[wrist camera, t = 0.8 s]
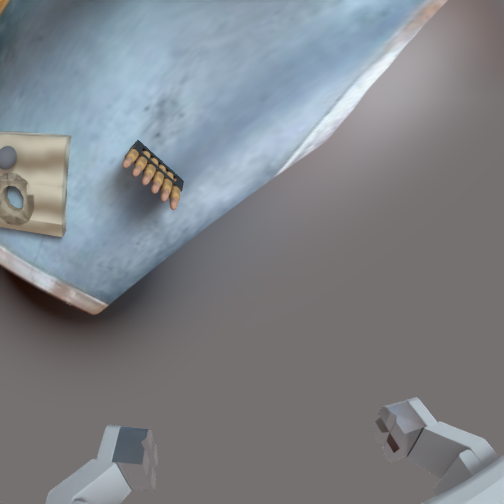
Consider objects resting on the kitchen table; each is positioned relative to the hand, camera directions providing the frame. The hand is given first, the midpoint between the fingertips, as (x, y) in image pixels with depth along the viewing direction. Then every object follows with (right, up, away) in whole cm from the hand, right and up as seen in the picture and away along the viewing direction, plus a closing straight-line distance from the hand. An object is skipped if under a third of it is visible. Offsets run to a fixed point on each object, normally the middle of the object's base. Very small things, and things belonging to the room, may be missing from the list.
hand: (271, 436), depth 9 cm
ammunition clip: (-16, +21, +39) cm, 47 cm away
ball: (-41, +22, +27) cm, 54 cm away
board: (-43, +19, +33) cm, 58 cm away
